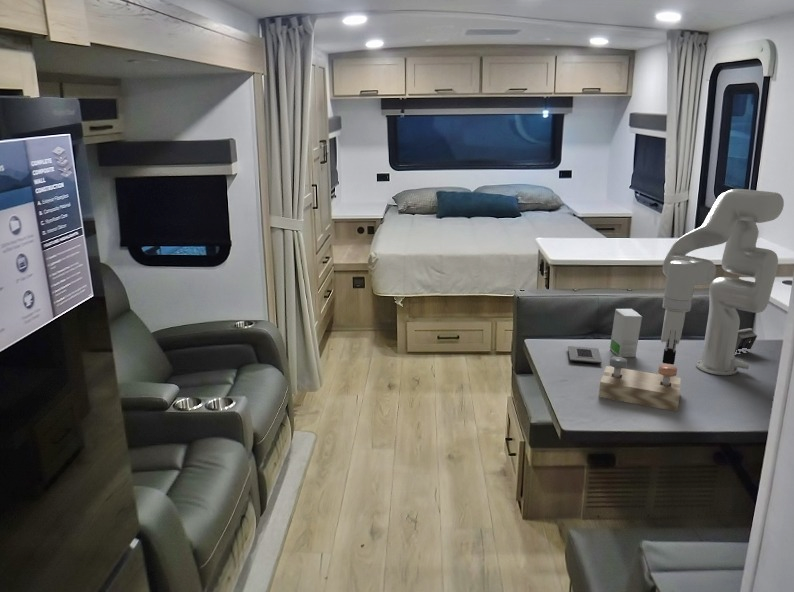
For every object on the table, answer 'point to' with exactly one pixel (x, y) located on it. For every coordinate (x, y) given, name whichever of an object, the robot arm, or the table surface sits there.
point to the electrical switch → (745, 339)
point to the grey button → (618, 365)
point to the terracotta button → (667, 373)
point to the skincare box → (625, 332)
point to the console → (640, 388)
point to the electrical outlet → (584, 354)
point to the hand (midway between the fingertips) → (668, 362)
